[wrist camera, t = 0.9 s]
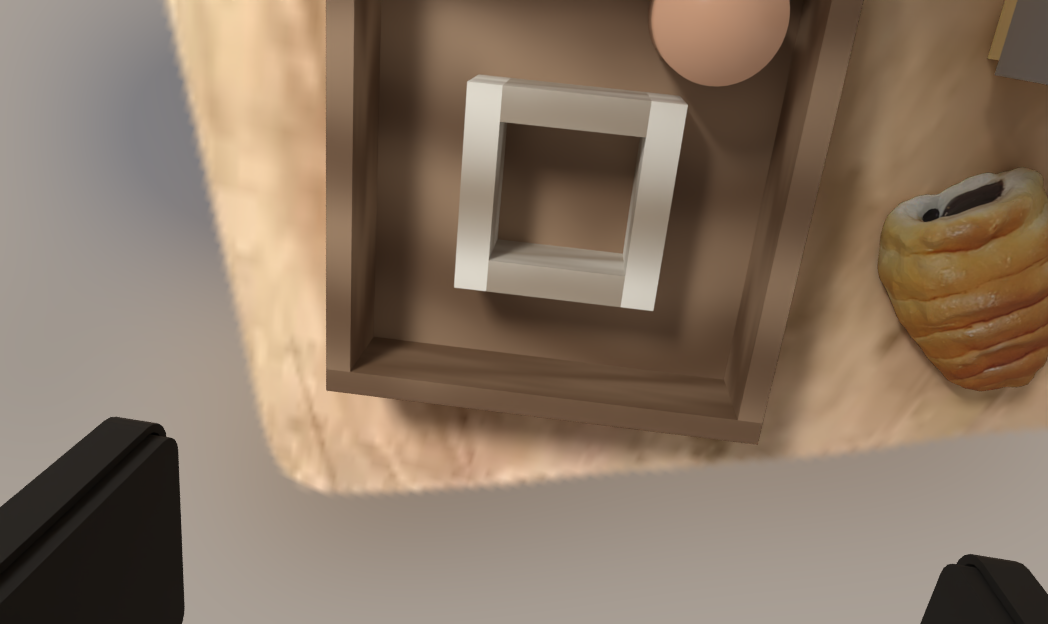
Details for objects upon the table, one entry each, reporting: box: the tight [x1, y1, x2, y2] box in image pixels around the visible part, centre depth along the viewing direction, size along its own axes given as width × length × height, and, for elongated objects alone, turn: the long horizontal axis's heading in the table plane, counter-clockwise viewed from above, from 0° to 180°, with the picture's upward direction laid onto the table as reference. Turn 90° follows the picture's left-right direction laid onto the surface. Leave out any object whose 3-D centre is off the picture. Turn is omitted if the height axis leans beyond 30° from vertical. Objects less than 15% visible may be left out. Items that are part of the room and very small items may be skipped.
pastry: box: [878, 167, 1048, 391], centre depth 32 cm, size 9×7×4 cm
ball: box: [648, 0, 790, 87], centre depth 28 cm, size 4×4×4 cm
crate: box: [326, 0, 864, 445], centre depth 31 cm, size 20×18×4 cm
